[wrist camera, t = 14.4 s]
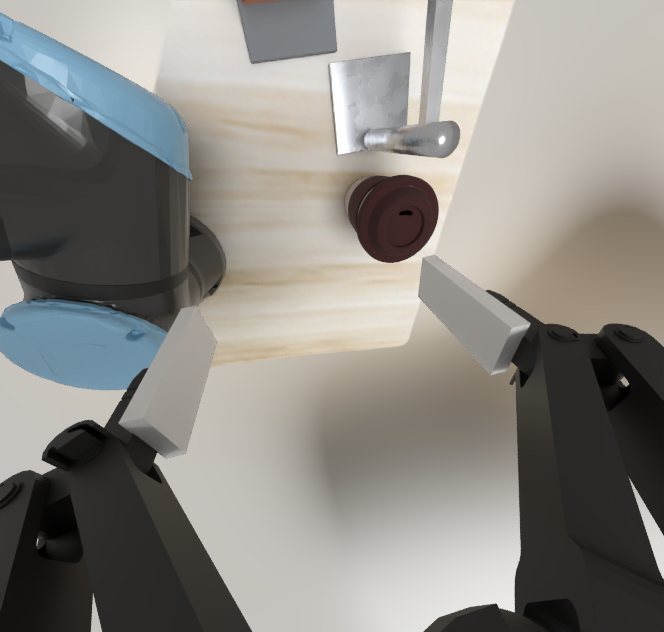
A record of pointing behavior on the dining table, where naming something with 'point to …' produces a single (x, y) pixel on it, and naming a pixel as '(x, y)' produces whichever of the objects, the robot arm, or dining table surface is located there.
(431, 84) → the stand
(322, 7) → the coaster
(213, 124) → the dining table surface
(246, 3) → the link
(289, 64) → the dining table surface
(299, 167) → the dining table surface
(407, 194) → the coffee cup
